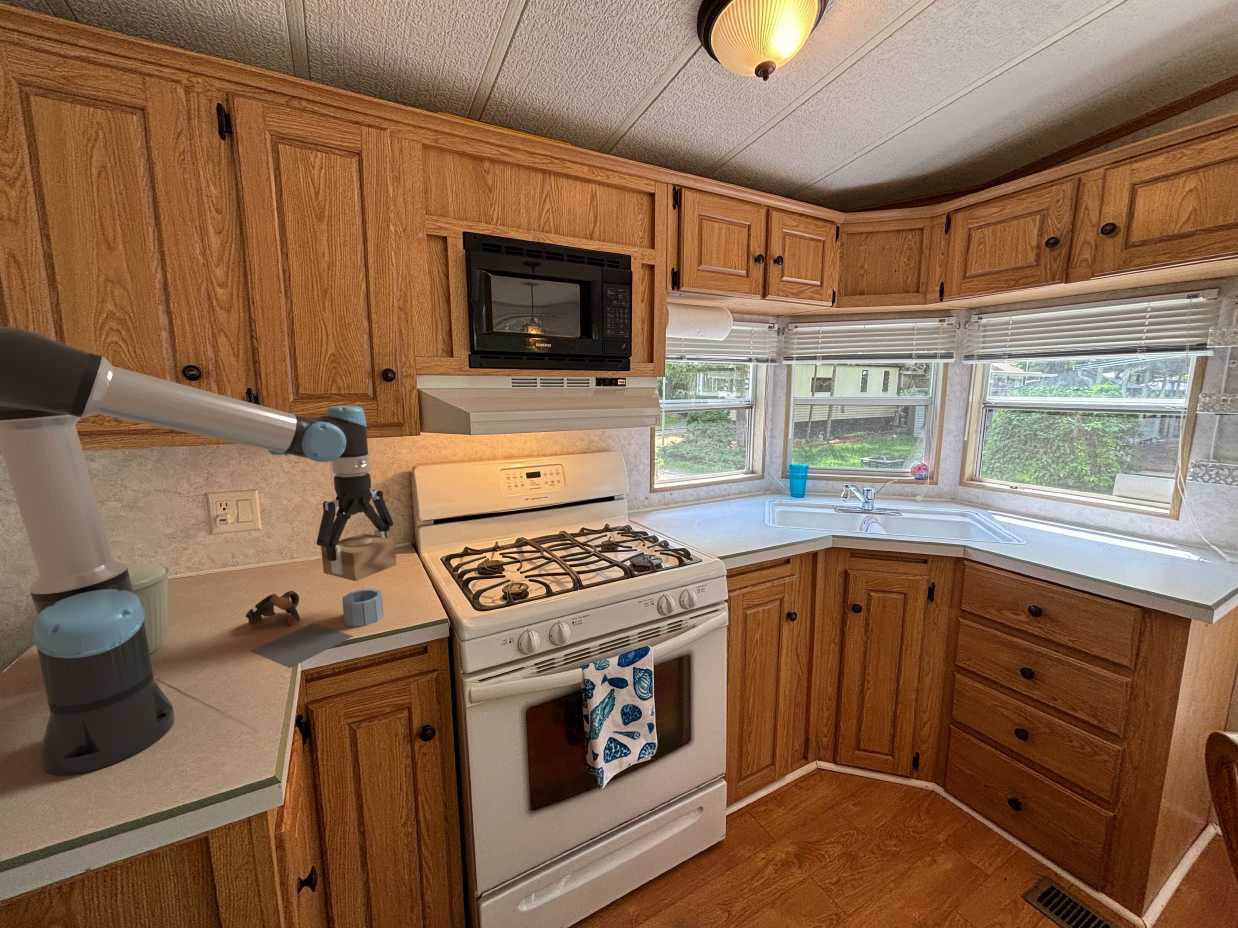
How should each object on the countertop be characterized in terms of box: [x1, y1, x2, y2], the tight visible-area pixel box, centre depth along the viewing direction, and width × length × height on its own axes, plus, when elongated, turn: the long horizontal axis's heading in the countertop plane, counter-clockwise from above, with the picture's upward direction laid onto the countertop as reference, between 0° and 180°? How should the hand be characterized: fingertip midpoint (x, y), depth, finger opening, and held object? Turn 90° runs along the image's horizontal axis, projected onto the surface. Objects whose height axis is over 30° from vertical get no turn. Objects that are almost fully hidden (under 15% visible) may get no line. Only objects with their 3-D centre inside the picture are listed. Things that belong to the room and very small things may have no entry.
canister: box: [112, 557, 172, 655], centre depth 105 cm, size 18×18×21 cm
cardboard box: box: [320, 532, 397, 582], centre depth 120 cm, size 11×11×7 cm
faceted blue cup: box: [341, 588, 385, 627], centre depth 122 cm, size 8×9×6 cm
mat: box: [249, 622, 354, 669], centre depth 111 cm, size 14×14×1 cm
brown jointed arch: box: [245, 590, 301, 627], centre depth 121 cm, size 12×10×8 cm
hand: (360, 564), depth 120 cm, fingers closed on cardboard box, 11 cm apart
